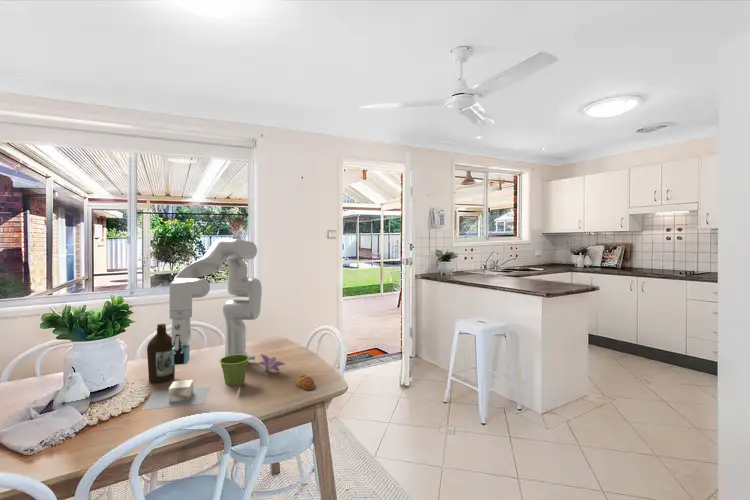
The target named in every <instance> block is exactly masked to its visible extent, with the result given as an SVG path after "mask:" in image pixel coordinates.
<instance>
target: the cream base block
mask: <svg viewBox="0 0 750 500" xmlns="http://www.w3.org/2000/svg"><path fill="white" fill-rule="evenodd" d="M193 388H194V379H188V380H186V379H185V380H174V381H172V383H171V384H170V386H169V387H168V390H169V402H174V401H184V400H190V398H191V396H192V394H193Z"/></svg>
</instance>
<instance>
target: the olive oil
mask: <svg viewBox="0 0 750 500" xmlns="http://www.w3.org/2000/svg"><path fill="white" fill-rule="evenodd" d="M166 326H167V324H166V323H158V324H157V325H156V327H157V328H156V334H155V335H154V336H153V337H152V338H151V339H150V340H149V342H148V344H147V346H146V355H147V368H148V383H150V384H156V385H157V384H164V383H168V382H171V381H172V380H175V374H176V373H175V372H176V371H175V370H176V368H175V367H176V365H172V348H173V347H174V346H173V345H172V335H169V334H168V333H167V327H166Z"/></svg>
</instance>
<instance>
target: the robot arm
mask: <svg viewBox="0 0 750 500" xmlns="http://www.w3.org/2000/svg"><path fill="white" fill-rule="evenodd" d="M257 253H258V248H257V245H256V244H255V243H254V242H252V241H249V240H246V239H245V240H243V239H240V238H218V239H216V240H215V241H214V242H213V243H212V244H211V245H210V246H209V248H208V249H207V251H206V252H205V253H204V254H203V256H202V257H201V258H200V259H198V260H196V261H193V262H192V263H189V264H188V265H186V266H184V267H183V268H182V269H180V270H179V271H178V273H177V274H176V275H175V276H174V278H173V279H172V281H171V282H170V284H169V319H170V320H172V323H171V337H172V345H173V346H174V364H175V366H178V365H177V364H180V365H185V364H184V353H183V345H188V344H189V343H190V342H191V339H192V327H191V326H192V324H191V318H192V317H193V299H198V298H199V299H200V298H204V297H206V296H207V295H208V294H209V292H210V289H211V285H210V283H209V281H208V280H206V279H204V278H201V277H204V276H208V275H211V274H214V273H217V272H218V271H219V270H220V269H221V268H222V266H223V265H224V263H225V262H226V263H227V266H228V278H227V279H228V280H227V281H228V282H227V293H228V294H229V296H231V297H236V298H237V297H238V298H248V299H228V300H226V301H225V302H224V303H223V305H222V314H223V318H224V319H223V320H224V357H225V356H229V355H236V354H243V355H247V356H249V360H248V363H247V365H249V363H250V360H252V361H253V360H256V355H254V354H248V352H247V349H246V348H247V345H246V343H247V338H246V336H247V335H246V334H247V333H246V332H247V328H246V324H245V322H244V321H255V320H257V319H258V318H259V317H260V313H261V305H262V290H263V289H262V288H263V287H262V283H261V281H260V279H258V278H256V277H248V266H247V264H246V262H245V260H253V259H255V258H256V256H257ZM179 347H181V348H179Z"/></svg>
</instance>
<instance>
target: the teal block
mask: <svg viewBox="0 0 750 500" xmlns="http://www.w3.org/2000/svg"><path fill="white" fill-rule="evenodd" d="M179 348H181V347H179ZM183 353H184V364H183V365H187V364H188V363H189V362H190V344H189V343H188V344H187V345H183ZM172 365H175V364H174V347H173V348H172ZM179 365H181V364H177V365H175V366H179Z"/></svg>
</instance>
